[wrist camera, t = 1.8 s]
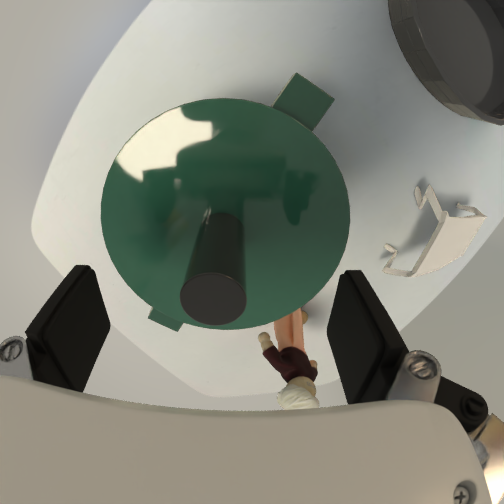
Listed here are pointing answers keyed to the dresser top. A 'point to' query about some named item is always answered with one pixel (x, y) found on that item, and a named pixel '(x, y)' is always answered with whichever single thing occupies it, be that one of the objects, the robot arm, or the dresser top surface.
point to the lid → (225, 214)
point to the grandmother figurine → (292, 362)
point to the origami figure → (441, 237)
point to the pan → (455, 52)
